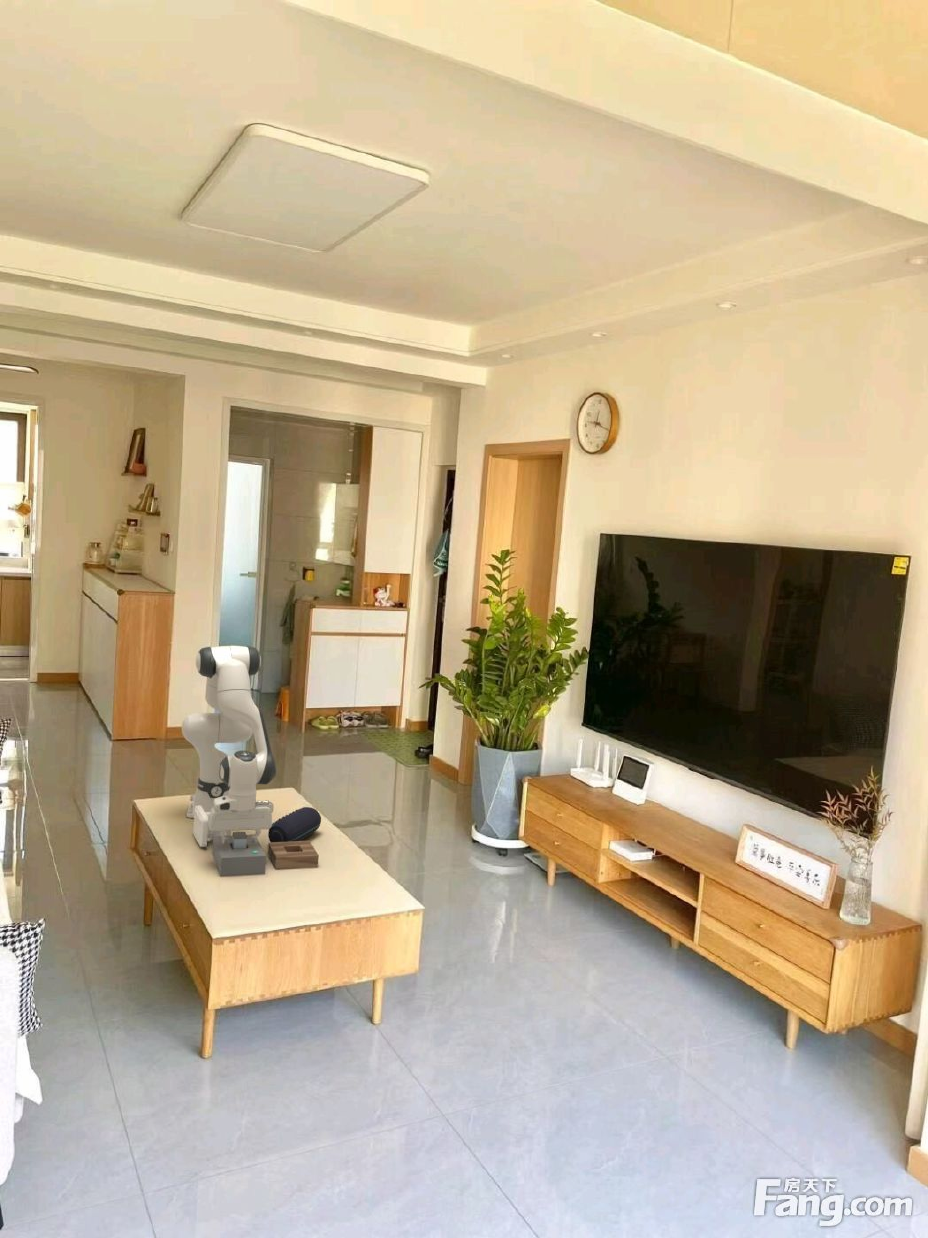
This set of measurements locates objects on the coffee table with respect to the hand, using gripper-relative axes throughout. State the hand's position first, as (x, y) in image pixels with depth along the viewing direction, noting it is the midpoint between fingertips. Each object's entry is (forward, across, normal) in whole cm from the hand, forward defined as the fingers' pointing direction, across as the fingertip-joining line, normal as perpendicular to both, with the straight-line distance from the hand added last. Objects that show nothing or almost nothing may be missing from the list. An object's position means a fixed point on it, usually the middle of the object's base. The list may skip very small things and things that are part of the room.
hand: (239, 842), depth 314 cm
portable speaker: (+8, -22, -18) cm, 30 cm away
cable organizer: (+7, +6, -21) cm, 23 cm away
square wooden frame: (+7, -18, 0) cm, 19 cm away
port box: (+7, 0, 0) cm, 7 cm away
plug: (+7, 0, 0) cm, 7 cm away
